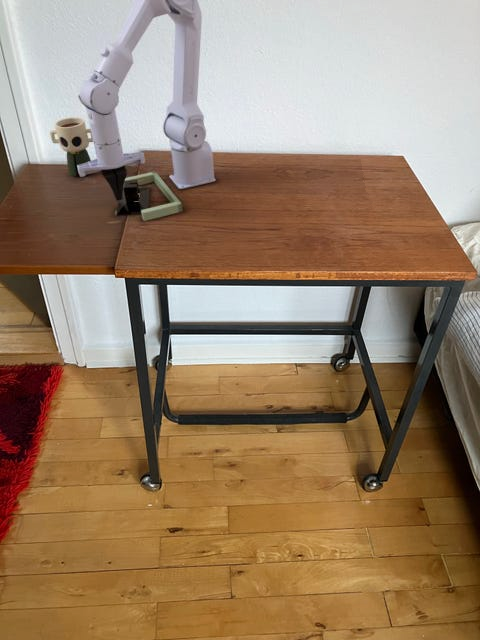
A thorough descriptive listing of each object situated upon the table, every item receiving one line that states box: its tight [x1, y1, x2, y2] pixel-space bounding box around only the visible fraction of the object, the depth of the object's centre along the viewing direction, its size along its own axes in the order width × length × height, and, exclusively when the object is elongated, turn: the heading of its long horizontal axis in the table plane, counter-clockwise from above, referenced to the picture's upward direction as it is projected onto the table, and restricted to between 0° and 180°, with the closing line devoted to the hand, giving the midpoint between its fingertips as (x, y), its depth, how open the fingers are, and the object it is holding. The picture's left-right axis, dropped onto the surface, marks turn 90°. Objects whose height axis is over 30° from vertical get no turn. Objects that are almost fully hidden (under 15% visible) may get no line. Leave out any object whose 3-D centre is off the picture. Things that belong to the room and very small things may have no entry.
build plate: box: [114, 180, 151, 217], centre depth 123 cm, size 12×7×5 cm, turn 4°
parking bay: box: [123, 171, 183, 222], centre depth 125 cm, size 9×19×2 cm, turn 25°
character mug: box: [49, 116, 94, 177], centre depth 134 cm, size 11×7×13 cm, turn 90°
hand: (118, 198), depth 122 cm, fingers closed
